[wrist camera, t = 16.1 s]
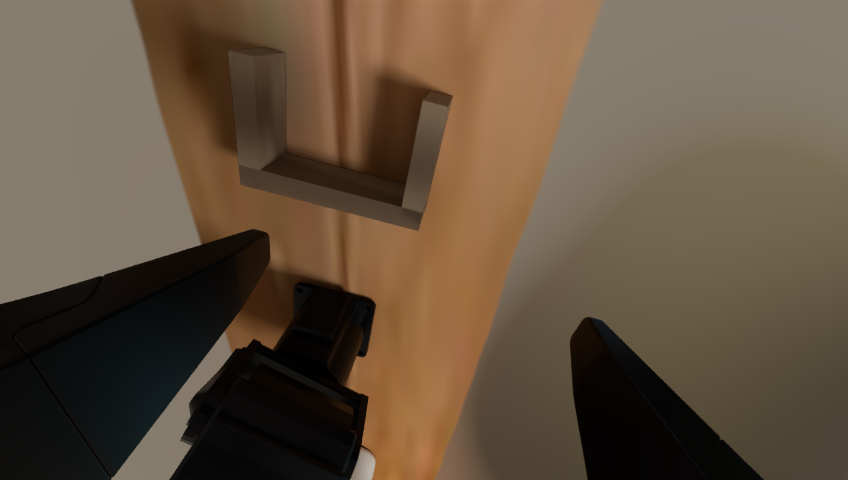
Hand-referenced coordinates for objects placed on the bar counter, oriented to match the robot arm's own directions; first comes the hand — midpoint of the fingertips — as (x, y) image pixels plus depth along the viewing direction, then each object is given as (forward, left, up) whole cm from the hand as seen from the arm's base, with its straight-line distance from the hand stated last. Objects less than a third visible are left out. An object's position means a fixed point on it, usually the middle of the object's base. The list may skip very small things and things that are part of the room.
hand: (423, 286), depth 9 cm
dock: (0, +6, -12) cm, 13 cm away
